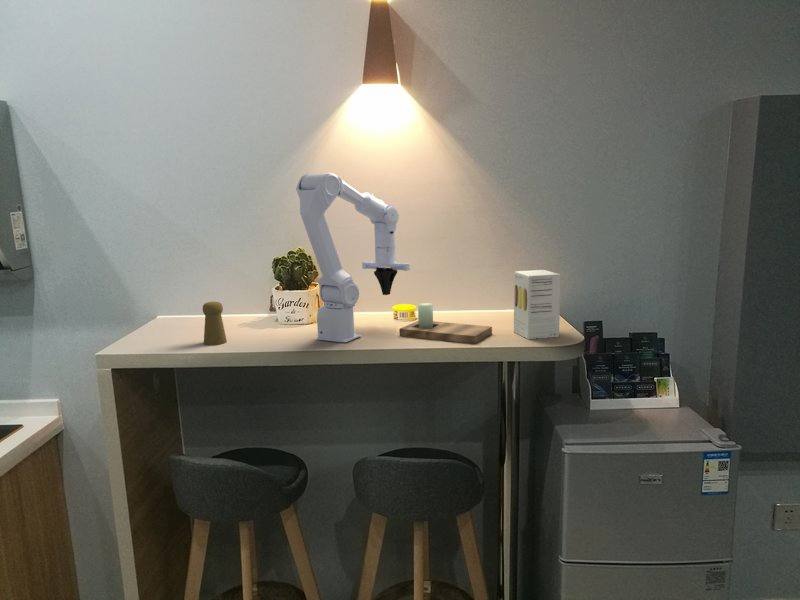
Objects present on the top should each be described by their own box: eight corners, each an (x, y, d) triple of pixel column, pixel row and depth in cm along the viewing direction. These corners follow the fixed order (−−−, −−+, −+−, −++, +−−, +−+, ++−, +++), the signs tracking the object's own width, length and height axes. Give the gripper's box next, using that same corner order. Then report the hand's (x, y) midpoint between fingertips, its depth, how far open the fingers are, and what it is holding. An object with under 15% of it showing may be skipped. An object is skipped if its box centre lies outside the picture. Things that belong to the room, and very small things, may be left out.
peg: (416, 333, 176) (415, 305, 174) (422, 330, 179) (422, 302, 178) (429, 335, 174) (428, 306, 172) (435, 332, 177) (435, 303, 176)
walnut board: (399, 335, 174) (399, 328, 173) (419, 326, 184) (419, 320, 184) (475, 343, 163) (475, 336, 163) (491, 333, 173) (491, 326, 173)
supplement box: (512, 332, 175) (513, 270, 172) (543, 329, 177) (544, 269, 174) (528, 339, 166) (528, 275, 163) (560, 337, 168) (561, 273, 165)
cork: (199, 342, 171) (196, 302, 169) (219, 338, 175) (216, 299, 174) (210, 346, 167) (207, 305, 165) (231, 342, 171) (228, 301, 169)
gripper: (414, 246, 182) (415, 293, 184) (370, 245, 188) (372, 290, 191) (402, 249, 175) (403, 297, 178) (357, 247, 182) (359, 294, 185)
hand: (386, 294), depth 184 cm, fingers closed
